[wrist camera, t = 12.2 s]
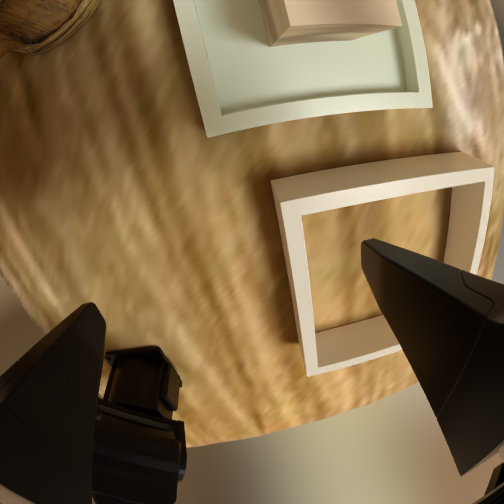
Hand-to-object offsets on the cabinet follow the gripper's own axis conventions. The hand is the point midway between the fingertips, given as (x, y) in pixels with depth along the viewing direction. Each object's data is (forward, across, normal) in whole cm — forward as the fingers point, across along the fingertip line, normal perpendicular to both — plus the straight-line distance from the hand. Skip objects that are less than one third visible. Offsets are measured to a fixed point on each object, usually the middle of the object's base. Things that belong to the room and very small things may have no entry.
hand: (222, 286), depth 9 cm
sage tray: (+11, -7, -10) cm, 17 cm away
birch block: (+10, -7, -10) cm, 16 cm away
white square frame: (+11, -11, +8) cm, 18 cm away
